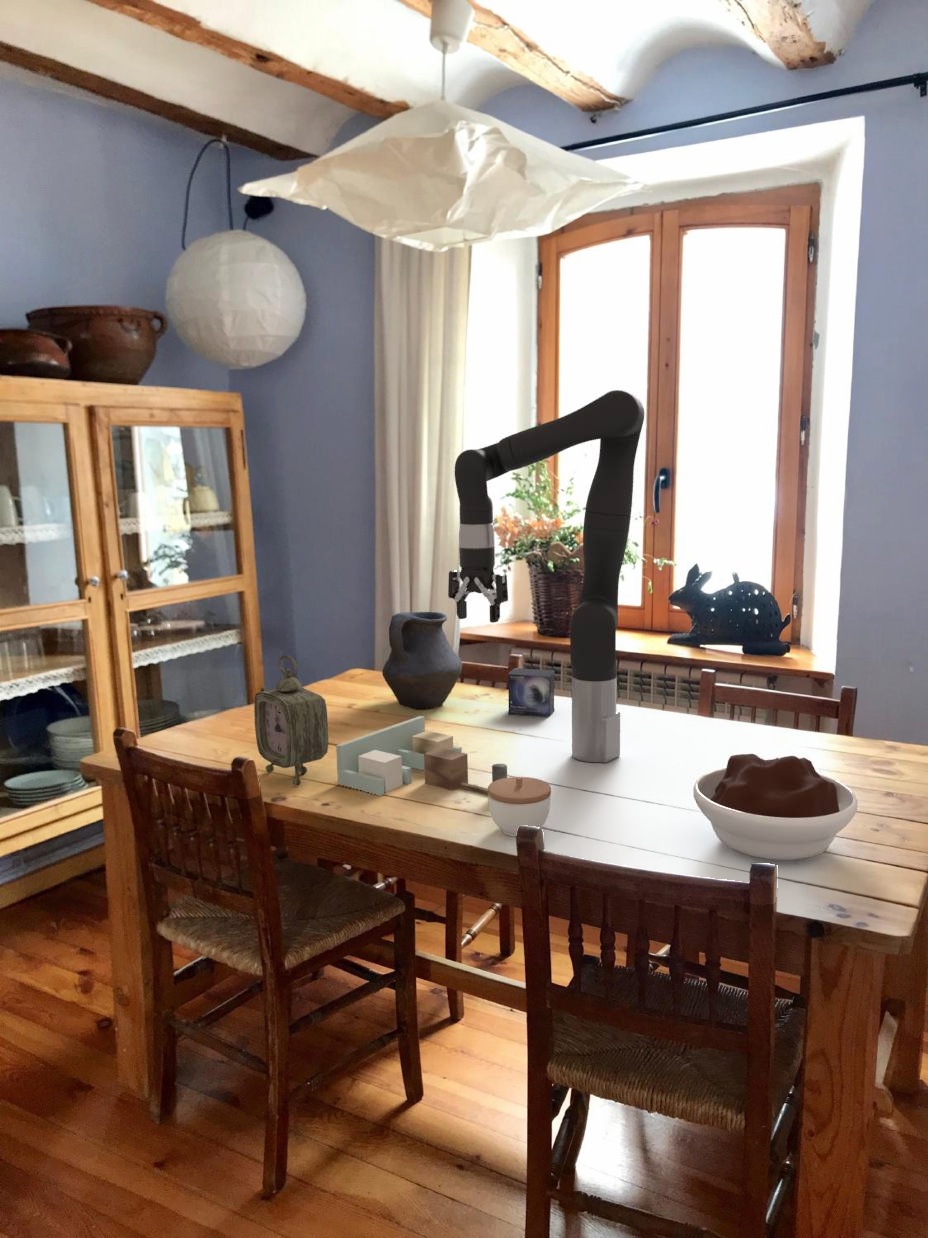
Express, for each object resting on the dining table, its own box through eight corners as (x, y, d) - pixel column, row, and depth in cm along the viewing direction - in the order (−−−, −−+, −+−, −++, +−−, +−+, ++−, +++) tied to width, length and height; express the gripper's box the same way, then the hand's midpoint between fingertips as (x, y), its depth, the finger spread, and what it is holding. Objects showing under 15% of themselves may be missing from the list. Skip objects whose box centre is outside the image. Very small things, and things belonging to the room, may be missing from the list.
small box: (507, 715, 235) (506, 673, 233) (513, 708, 241) (513, 667, 240) (549, 717, 232) (549, 675, 230) (555, 710, 238) (555, 669, 237)
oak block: (453, 764, 199) (452, 736, 198) (439, 770, 196) (438, 742, 195) (427, 758, 204) (426, 730, 203) (412, 764, 200) (412, 736, 199)
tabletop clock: (257, 772, 196) (250, 653, 192) (296, 762, 202) (290, 646, 198) (293, 790, 185) (286, 664, 181) (333, 779, 191) (327, 657, 187)
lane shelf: (461, 761, 201) (461, 724, 199) (379, 796, 181) (378, 755, 180) (421, 751, 208) (420, 716, 206) (337, 784, 188) (336, 745, 187)
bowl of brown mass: (790, 896, 138) (794, 796, 135) (660, 841, 158) (661, 753, 155) (886, 851, 152) (892, 760, 150) (756, 806, 172) (759, 725, 170)
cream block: (402, 785, 187) (401, 756, 186) (385, 792, 183) (384, 762, 182) (376, 778, 191) (375, 749, 190) (359, 785, 188) (358, 756, 186)
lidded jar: (513, 814, 171) (512, 763, 169) (563, 827, 164) (563, 775, 163) (475, 833, 163) (474, 780, 161) (526, 848, 156) (526, 793, 155)
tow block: (513, 794, 181) (513, 764, 180) (498, 802, 177) (498, 771, 176) (440, 776, 192) (439, 747, 191) (424, 783, 188) (423, 753, 187)
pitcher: (478, 700, 249) (476, 606, 245) (431, 721, 231) (428, 619, 227) (413, 691, 260) (410, 600, 256) (363, 710, 242) (360, 613, 238)
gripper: (514, 544, 202) (515, 620, 204) (461, 542, 210) (462, 614, 213) (493, 548, 196) (494, 626, 199) (439, 545, 204) (441, 619, 207)
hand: (478, 620), depth 206 cm, fingers open, 8 cm apart
